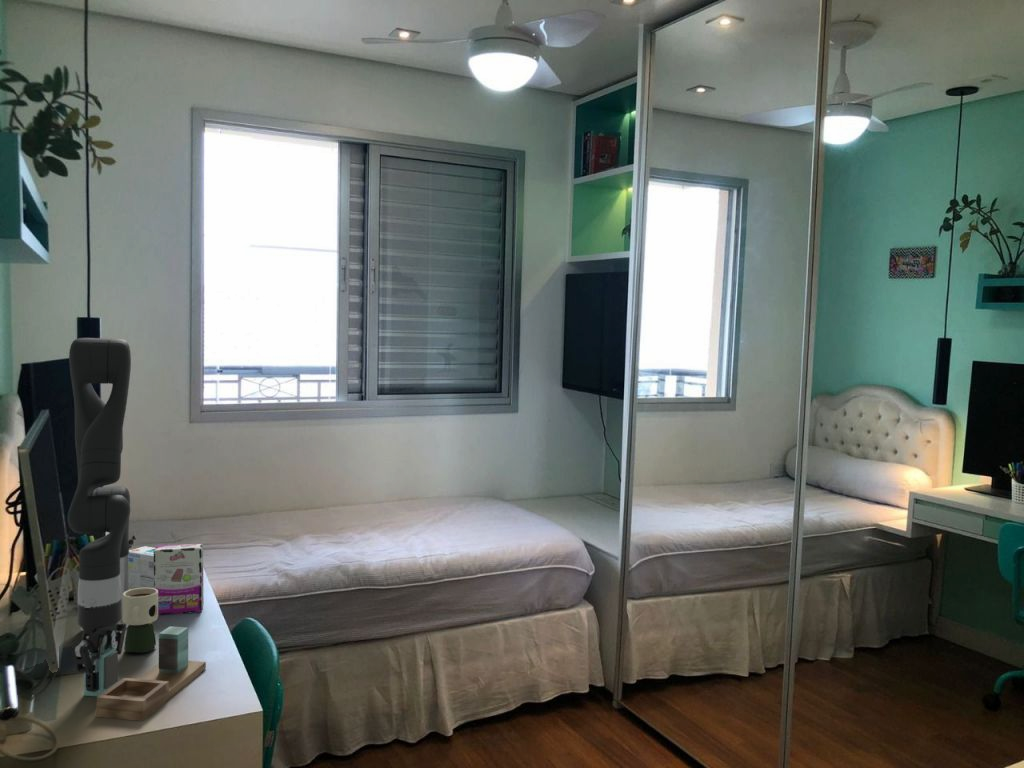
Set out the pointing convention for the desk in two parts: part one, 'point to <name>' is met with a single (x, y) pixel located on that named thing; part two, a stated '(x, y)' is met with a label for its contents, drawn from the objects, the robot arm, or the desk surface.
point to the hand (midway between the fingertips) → (99, 685)
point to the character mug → (140, 618)
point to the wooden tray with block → (152, 680)
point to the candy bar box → (179, 578)
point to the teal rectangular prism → (105, 672)
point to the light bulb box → (141, 567)
